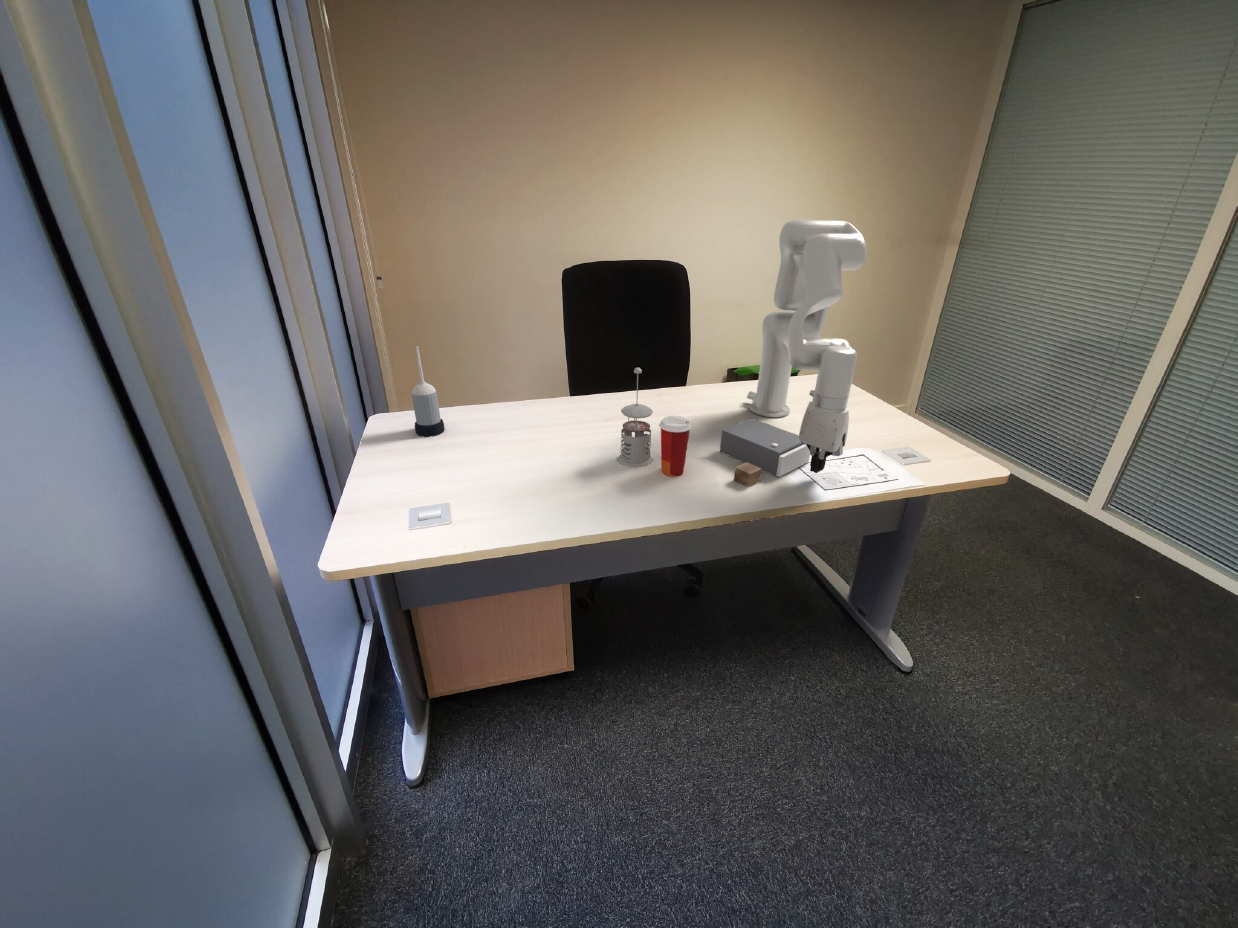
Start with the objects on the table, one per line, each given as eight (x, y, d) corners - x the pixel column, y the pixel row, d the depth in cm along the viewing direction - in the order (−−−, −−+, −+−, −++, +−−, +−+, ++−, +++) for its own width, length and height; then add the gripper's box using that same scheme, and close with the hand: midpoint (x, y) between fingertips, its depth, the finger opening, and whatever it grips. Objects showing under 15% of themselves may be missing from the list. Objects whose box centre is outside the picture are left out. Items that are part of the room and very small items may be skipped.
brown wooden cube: (733, 479, 134) (735, 467, 132) (745, 474, 136) (746, 462, 135) (748, 486, 130) (750, 474, 129) (759, 481, 133) (761, 468, 131)
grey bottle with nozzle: (444, 424, 163) (431, 342, 151) (445, 435, 156) (432, 349, 145) (415, 427, 161) (401, 344, 149) (415, 438, 154) (400, 352, 142)
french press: (620, 468, 138) (621, 374, 127) (613, 449, 148) (614, 360, 137) (657, 466, 140) (662, 373, 128) (648, 447, 150) (651, 359, 138)
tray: (722, 452, 147) (724, 433, 144) (752, 439, 154) (754, 422, 152) (779, 476, 135) (782, 457, 132) (808, 461, 142) (812, 443, 140)
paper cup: (690, 467, 139) (694, 417, 133) (683, 481, 133) (687, 428, 126) (661, 462, 141) (663, 413, 135) (653, 475, 135) (655, 424, 129)
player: (719, 451, 148) (722, 428, 145) (749, 439, 155) (752, 417, 152) (775, 475, 136) (779, 451, 132) (804, 461, 143) (808, 437, 140)
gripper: (793, 395, 128) (781, 464, 136) (851, 413, 118) (835, 486, 126) (810, 389, 132) (798, 456, 141) (869, 406, 122) (852, 477, 130)
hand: (816, 470), depth 133 cm, fingers closed
